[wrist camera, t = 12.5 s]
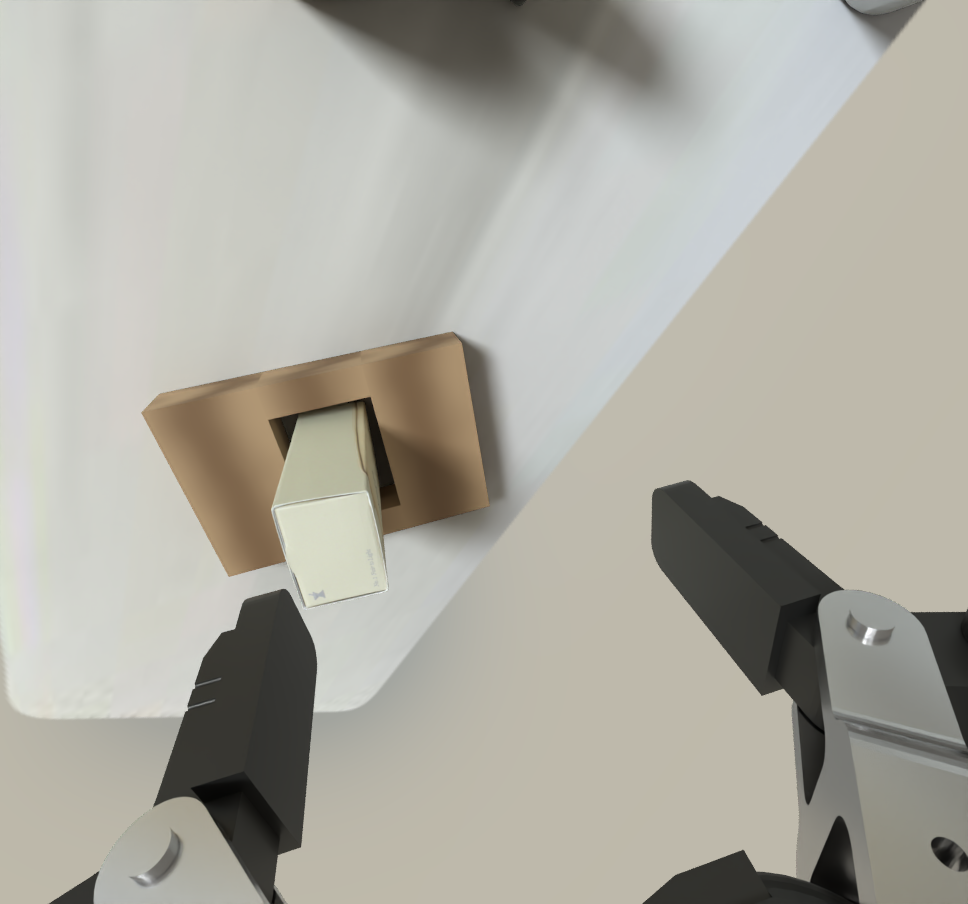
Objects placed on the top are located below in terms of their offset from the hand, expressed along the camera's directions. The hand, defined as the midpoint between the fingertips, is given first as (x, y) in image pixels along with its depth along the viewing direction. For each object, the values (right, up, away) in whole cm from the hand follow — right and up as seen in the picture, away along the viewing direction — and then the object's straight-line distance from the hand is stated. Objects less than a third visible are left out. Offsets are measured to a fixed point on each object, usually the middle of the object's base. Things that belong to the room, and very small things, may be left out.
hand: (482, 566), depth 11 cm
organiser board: (-10, +3, +23) cm, 25 cm away
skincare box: (-10, +3, +23) cm, 25 cm away
